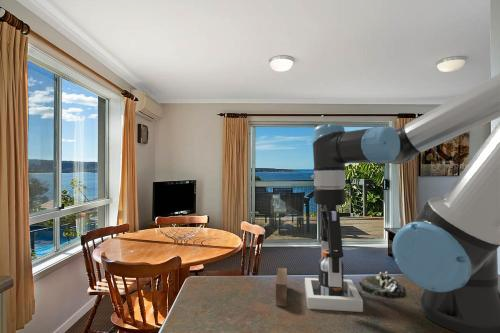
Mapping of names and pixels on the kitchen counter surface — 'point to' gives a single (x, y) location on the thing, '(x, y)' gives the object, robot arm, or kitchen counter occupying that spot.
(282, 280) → the door edge
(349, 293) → the plate
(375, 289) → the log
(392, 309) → the kitchen counter surface
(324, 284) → the pill bottle
